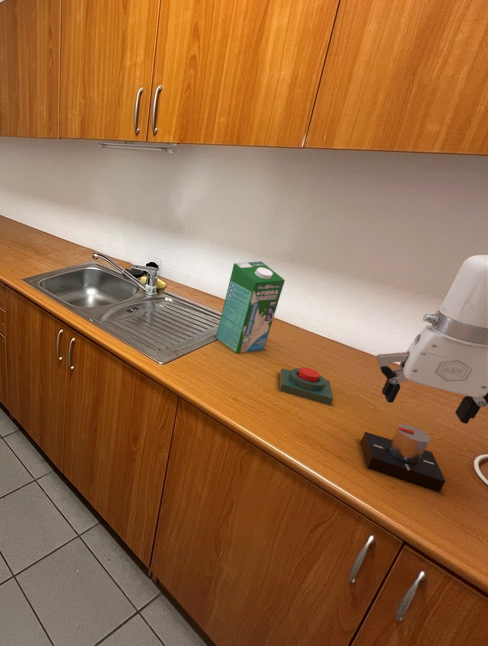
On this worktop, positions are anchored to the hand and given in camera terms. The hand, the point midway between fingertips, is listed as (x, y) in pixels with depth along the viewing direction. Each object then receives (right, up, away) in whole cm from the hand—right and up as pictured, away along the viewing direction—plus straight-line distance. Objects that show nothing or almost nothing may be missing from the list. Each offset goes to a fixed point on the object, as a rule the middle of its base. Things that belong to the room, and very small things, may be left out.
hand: (423, 408), depth 73 cm
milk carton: (-4, +4, +47) cm, 47 cm away
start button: (-1, -1, +26) cm, 26 cm away
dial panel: (0, -13, +5) cm, 14 cm away
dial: (0, -10, +4) cm, 11 cm away
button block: (-1, -4, +27) cm, 27 cm away
